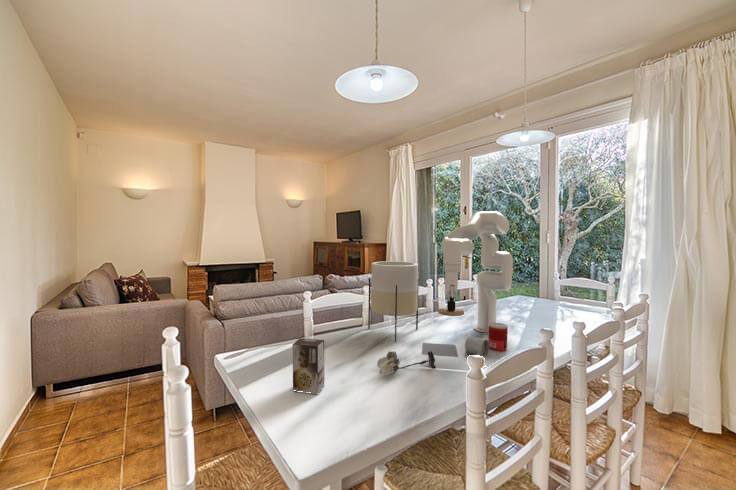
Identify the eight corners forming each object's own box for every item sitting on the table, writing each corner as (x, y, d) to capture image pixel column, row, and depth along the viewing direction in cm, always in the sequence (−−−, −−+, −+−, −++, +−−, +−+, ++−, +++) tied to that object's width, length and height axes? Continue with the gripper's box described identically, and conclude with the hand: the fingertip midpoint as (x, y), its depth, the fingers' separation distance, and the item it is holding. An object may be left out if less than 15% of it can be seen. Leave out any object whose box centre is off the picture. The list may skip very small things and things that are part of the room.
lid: (437, 309, 156) (438, 295, 156) (462, 310, 154) (463, 296, 154) (438, 315, 146) (438, 300, 145) (465, 316, 144) (465, 301, 143)
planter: (410, 345, 159) (412, 267, 157) (356, 338, 168) (357, 264, 166) (420, 329, 184) (422, 262, 182) (373, 324, 193) (374, 260, 191)
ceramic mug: (471, 350, 153) (472, 333, 153) (489, 355, 147) (490, 337, 147) (460, 357, 145) (460, 339, 145) (478, 362, 140) (478, 343, 139)
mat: (422, 344, 161) (422, 342, 161) (455, 346, 158) (455, 345, 158) (421, 355, 146) (421, 354, 146) (458, 358, 143) (458, 356, 143)
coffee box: (325, 386, 116) (325, 339, 116) (318, 395, 110) (318, 345, 109) (300, 383, 119) (300, 337, 118) (291, 392, 112) (291, 343, 112)
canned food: (508, 352, 151) (509, 327, 150) (489, 351, 152) (490, 326, 152) (505, 346, 158) (505, 323, 158) (487, 345, 160) (487, 322, 159)
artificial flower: (438, 376, 129) (438, 354, 126) (380, 385, 127) (378, 362, 124) (431, 361, 138) (431, 339, 135) (376, 369, 136) (374, 347, 132)
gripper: (442, 265, 158) (442, 305, 159) (443, 269, 142) (442, 313, 143) (459, 266, 156) (458, 306, 157) (462, 270, 140) (461, 315, 141)
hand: (451, 309), depth 150 cm, fingers closed on lid, 2 cm apart
